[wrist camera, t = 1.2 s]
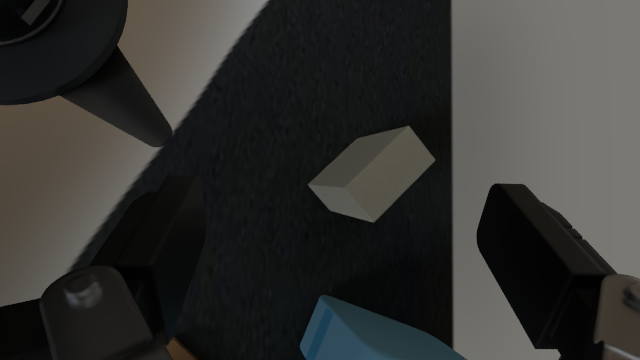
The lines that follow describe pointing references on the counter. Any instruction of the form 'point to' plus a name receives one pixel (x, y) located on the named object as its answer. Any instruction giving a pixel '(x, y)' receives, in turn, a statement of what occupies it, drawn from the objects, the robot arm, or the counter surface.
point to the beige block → (372, 173)
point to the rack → (179, 351)
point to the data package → (366, 336)
